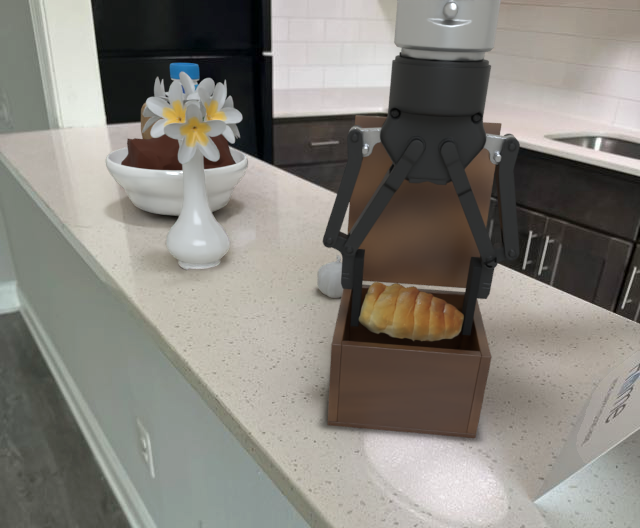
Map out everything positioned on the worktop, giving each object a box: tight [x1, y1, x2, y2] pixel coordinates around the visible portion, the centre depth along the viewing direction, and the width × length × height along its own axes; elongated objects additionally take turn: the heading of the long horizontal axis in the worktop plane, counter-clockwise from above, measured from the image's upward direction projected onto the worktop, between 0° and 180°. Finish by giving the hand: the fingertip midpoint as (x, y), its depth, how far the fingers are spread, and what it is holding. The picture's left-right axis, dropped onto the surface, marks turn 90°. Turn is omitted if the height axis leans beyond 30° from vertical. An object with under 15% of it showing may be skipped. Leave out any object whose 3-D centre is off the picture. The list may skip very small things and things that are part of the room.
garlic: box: [316, 254, 343, 299], centre depth 88 cm, size 6×5×5 cm
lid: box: [346, 114, 502, 289], centre depth 65 cm, size 16×14×1 cm
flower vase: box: [142, 72, 243, 271], centre depth 91 cm, size 13×18×25 cm
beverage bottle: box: [169, 62, 200, 94], centre depth 158 cm, size 8×8×20 cm
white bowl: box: [104, 134, 249, 217], centre depth 118 cm, size 25×25×15 cm
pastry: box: [359, 282, 464, 341], centre depth 61 cm, size 9×7×4 cm
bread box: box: [326, 283, 492, 439], centre depth 65 cm, size 15×14×9 cm
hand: (409, 324), depth 62 cm, fingers closed on pastry, 10 cm apart
